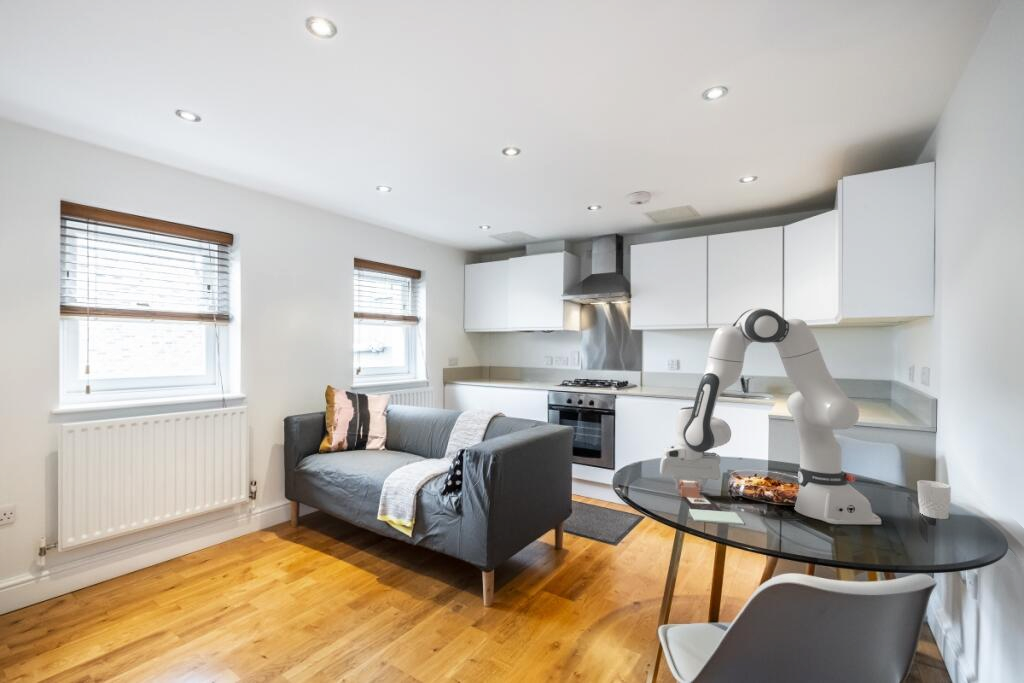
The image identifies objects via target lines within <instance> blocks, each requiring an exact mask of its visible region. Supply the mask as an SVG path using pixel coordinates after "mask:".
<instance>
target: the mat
mask: <svg viewBox="0 0 1024 683" xmlns="http://www.w3.org/2000/svg"><path fill="white" fill-rule="evenodd" d="M688 511H689V513H690V515H691V517H692V519H693V520H694V522H703V523H716V524H717V523H718V524H729V525H731V524H732V525H742V526H744V525H745V522H744V521H743V519H742V518H741V517H740V516H739V515H738V513H737V512H733V511H723V510H722V511H711V510H697V509H691V508H689V509H688Z"/></svg>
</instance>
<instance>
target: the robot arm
mask: <svg viewBox="0 0 1024 683" xmlns="http://www.w3.org/2000/svg"><path fill="white" fill-rule="evenodd" d="M752 343H761V344H766V343H767V344H768V343H770V344H771V343H772V344H774V345H775V347H776V349H777V351H778V355H779V358H780V361H781V362H782V365H783V369H784V370H785V373H786V376H787V379H788V380H789V381H790V383H792V385H794V387H796V389H797V390H798V391H795V392H793V393H792V394H790V396H789V397H788V399H787V401H786V408H787V411H788V413H789V414H790V415H791V417H792V418H793V422H794V426H795V428H796V432H797V435H798V440H799V442H798V443H799V465H798V469H797V470H798V472H797V480H798V485H799V486H798V492H797V496H796V497H797V498H796V501H795V504H794V506H795V507H793V508H794V509H793V510H794V511H796V512H797V513H799V514H801V515H803V516H805V517H808V518H812V519H816V520H820V521H823V522H826V523H828V524H832V525H882V519H881V517H880V516H879V515H877V514H876V513H875V512H873V511H872V510H873V509H872V505H871V503H870V501H869V499H868V498H867V497H866V496H865V495H864V494H862V493H861V492H860V491H859V490H857V489H856V488H854V487H853V486H852V485H850V484H849V482H850V483H854V482H855V481H856V477H855V475H852V474H850V473H849V474H848V473H846V472H844V471H843V470H842V447H841V444H840V443H839V441H838V439H836V436H835V434H834V431H833V430H835V431H836V430H848V429H851V428H852V427H854V426H855V425H856V424H857V423H858V421H859V418H860V410H859V406H858V405H857V404H856V403H855V402H854V400H852V399H850V398H849V397H848V396H847V395H846V394H845V392H843V390H842V389H841V388H840V386H839V384H837V382H836V380H835V379H834V378H833V376H832V375H831V373H830V371H829V369H828V367H827V365H826V361H825V360H824V357H823V355H822V352H821V349H820V347H819V344H818V342H817V340H816V338H815V336H814V334H813V331H812V330H811V329H810V327H809V325H808V324H807V323H806V321H804V320H803V319H799V318H789V319H785V318H784V317H782V316H781V315H780V314H778V313H777V312H776V311H773V310H772V309H768V308H767V309H766V308H764V307H763V308H762V307H757V308H751V309H748V310H746V311H744V312H743V313H741V315H739V317H738V319H737V320H736V321H735V322H734V323H733V324H732V325H723V326H720V327H719V328H717V329H716V330H715V332H714V334H713V336H712V339H711V342H710V345H709V351H708V353H707V360H706V365H705V369H704V373H703V375H702V378H701V380H700V382H699V385H698V388H697V392H696V396H695V399H694V403H693V406H686V407H682V408H680V409H679V410H678V412H677V416H676V417H677V419H676V432H677V439H676V444H674V445H669V446H666V447H664V448H663V455H662V456H661V458H660V462H659V463H660V464H659V473H660V475H661V476H662V477H668V478H672V480H673V481H674V483H675V490H677V491H678V490H679V491H680V490H681V488H680V487H681V485H680V483H678V478H681V479H682V478H684V479H685V478H686V479H700V480H701V483H700V484H698V485H699V488H700V492H704V487H705V485H706V484H707V481H708V480H715V481H716V480H717V481H718V480H719V479H721V469H720V465H721V456H720V455H719V454H718V453H717V452H707V451H710V450H712V449H715V448H718V447H723V446H725V445H726V444H727V443H729V441H730V440H731V437H732V430H731V428H730V426H729V424H728V423H727V422H726V421H725V420H724V419H721V418H717V417H715V416H713V415H714V411H715V408H716V405H717V402H718V399H719V397H720V395H721V394H723V392H725V390H727V389H728V388H730V387H731V386H733V385H734V384H735V383H737V382H738V380H739V378H740V376H741V374H742V372H743V368H744V363H745V362H744V361H745V355H746V352H747V349H748V347H749V346H750V344H752Z"/></svg>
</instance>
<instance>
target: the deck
mask: <svg viewBox="0 0 1024 683" xmlns="http://www.w3.org/2000/svg"><path fill="white" fill-rule="evenodd" d="M679 484H680V485H681V487H680V488H681V490H679V494H680V493H681V496H680V498H681V497H691V498H700V495H701V493H700V492H701V491H700V488H699V485H700V484H699V483H698V481H697V480H692V479H691V480H690V479H689V480H688V479H682V478H681V479H679Z"/></svg>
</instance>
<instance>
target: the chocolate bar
mask: <svg viewBox="0 0 1024 683" xmlns="http://www.w3.org/2000/svg"><path fill="white" fill-rule="evenodd" d="M680 495H681V494H680V493H679V496H680ZM681 499H684V500H685V501H684V500H683V501H684V502H685V503H686V504H687V506H688V505H689V506H690V507H689V506H688V507H689V509H697V510H711V511H723V510H722V509H721V507H719V506H718V505H717V504H716V503H715V502H714V501H713V500H712V499H711V498H710V497H709V496H708V495H706V494H700V498H691V497H682V498H681Z"/></svg>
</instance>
